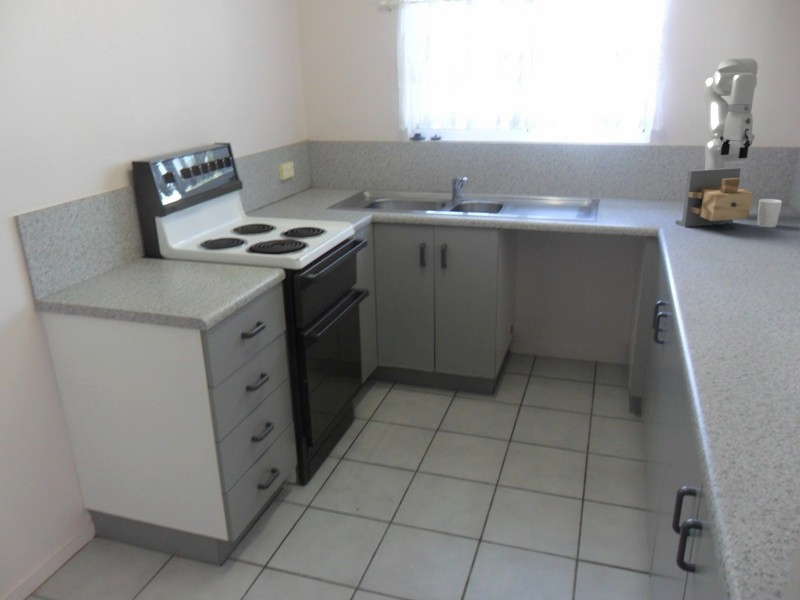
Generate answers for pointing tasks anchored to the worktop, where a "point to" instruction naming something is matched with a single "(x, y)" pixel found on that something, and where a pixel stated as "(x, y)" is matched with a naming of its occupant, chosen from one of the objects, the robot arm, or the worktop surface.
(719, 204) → the wooden box
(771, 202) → the white cup
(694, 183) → the wall board
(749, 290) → the worktop surface
